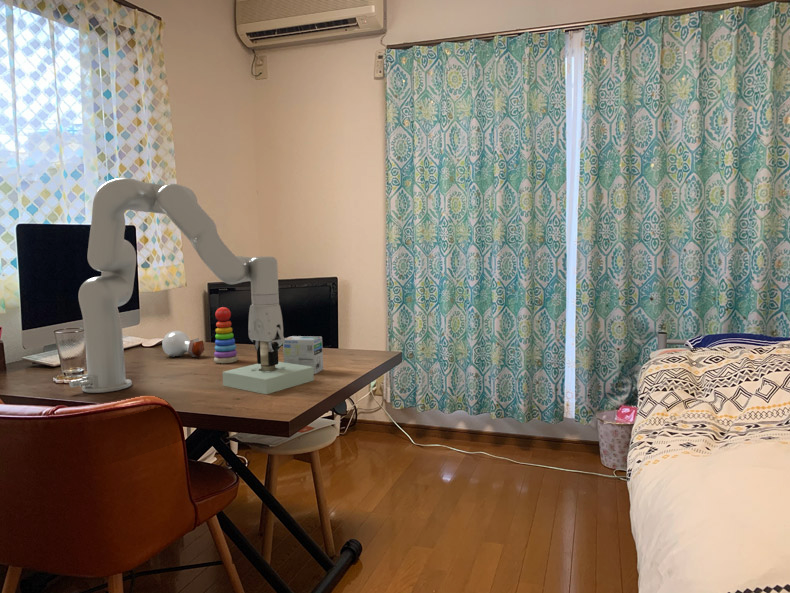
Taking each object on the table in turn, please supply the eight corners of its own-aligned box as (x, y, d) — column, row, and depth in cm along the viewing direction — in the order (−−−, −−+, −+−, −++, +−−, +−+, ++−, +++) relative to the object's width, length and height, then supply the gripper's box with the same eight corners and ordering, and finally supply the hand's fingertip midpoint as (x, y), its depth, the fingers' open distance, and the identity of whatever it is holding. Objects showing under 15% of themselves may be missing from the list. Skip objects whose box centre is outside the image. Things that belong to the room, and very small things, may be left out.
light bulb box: (324, 369, 181) (322, 335, 180) (315, 374, 175) (314, 339, 174) (292, 368, 184) (291, 335, 183) (283, 373, 178) (281, 338, 177)
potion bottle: (167, 358, 212) (200, 365, 207) (151, 347, 204) (185, 354, 199) (178, 336, 216) (211, 342, 211) (163, 324, 208) (197, 330, 203)
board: (266, 394, 153) (265, 379, 152) (223, 385, 163) (222, 371, 163) (313, 380, 167) (313, 366, 167) (271, 373, 178) (270, 360, 178)
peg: (268, 380, 162) (266, 338, 161) (258, 378, 165) (256, 337, 164) (279, 377, 166) (277, 336, 165) (269, 375, 168) (267, 335, 167)
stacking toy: (241, 359, 201) (239, 305, 199) (233, 364, 193) (230, 308, 191) (219, 359, 201) (217, 306, 200) (210, 364, 193) (207, 308, 192)
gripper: (235, 300, 165) (238, 363, 167) (275, 303, 155) (278, 369, 157) (255, 297, 171) (258, 358, 173) (295, 300, 161) (298, 364, 163)
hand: (267, 363), depth 165 cm, fingers closed on peg, 4 cm apart
